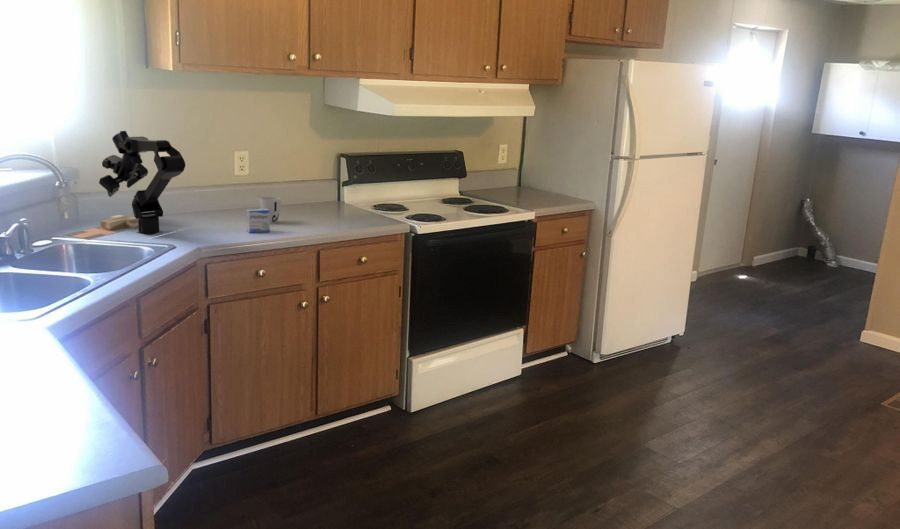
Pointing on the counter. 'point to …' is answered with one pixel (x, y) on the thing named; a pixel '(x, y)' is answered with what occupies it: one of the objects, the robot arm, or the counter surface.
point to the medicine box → (258, 220)
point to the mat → (95, 232)
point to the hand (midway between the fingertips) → (118, 191)
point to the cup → (271, 207)
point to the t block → (119, 222)
